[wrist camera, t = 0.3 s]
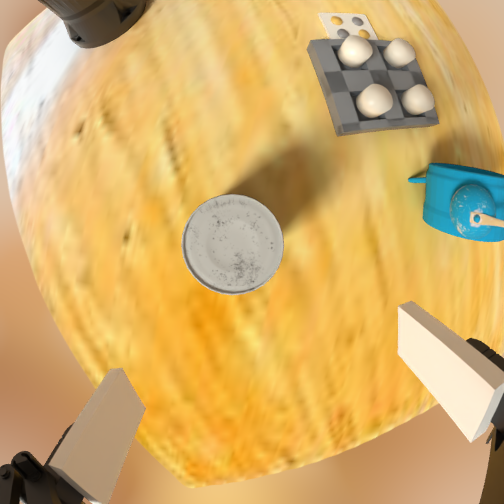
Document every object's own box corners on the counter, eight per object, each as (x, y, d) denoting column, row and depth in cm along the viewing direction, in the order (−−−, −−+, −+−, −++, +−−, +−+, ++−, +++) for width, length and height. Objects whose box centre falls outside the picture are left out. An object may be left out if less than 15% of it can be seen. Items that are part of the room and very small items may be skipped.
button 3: (379, 46, 28) (388, 37, 25) (398, 48, 28) (409, 39, 25) (388, 67, 29) (399, 59, 26) (408, 68, 29) (419, 61, 26)
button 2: (352, 92, 30) (361, 84, 27) (376, 91, 30) (387, 83, 27) (360, 119, 31) (371, 112, 28) (384, 116, 31) (396, 110, 27)
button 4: (397, 90, 30) (409, 83, 27) (416, 91, 30) (429, 84, 26) (405, 115, 31) (418, 110, 27) (424, 114, 31) (437, 110, 27)
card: (317, 14, 30) (318, 11, 29) (363, 16, 30) (365, 13, 29) (332, 45, 31) (333, 42, 30) (379, 45, 31) (381, 43, 30)
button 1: (333, 46, 29) (340, 34, 25) (357, 46, 28) (366, 35, 25) (343, 68, 29) (351, 58, 26) (367, 67, 29) (376, 58, 26)
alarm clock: (464, 166, 35) (548, 166, 16) (466, 223, 38) (548, 243, 18) (394, 162, 35) (490, 149, 16) (398, 229, 38) (492, 258, 18)
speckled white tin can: (195, 255, 38) (173, 282, 26) (210, 187, 36) (192, 184, 24) (262, 270, 38) (269, 304, 26) (279, 203, 36) (295, 208, 24)
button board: (306, 49, 32) (310, 40, 29) (400, 49, 31) (408, 43, 28) (336, 136, 35) (344, 132, 32) (429, 126, 34) (439, 123, 31)
